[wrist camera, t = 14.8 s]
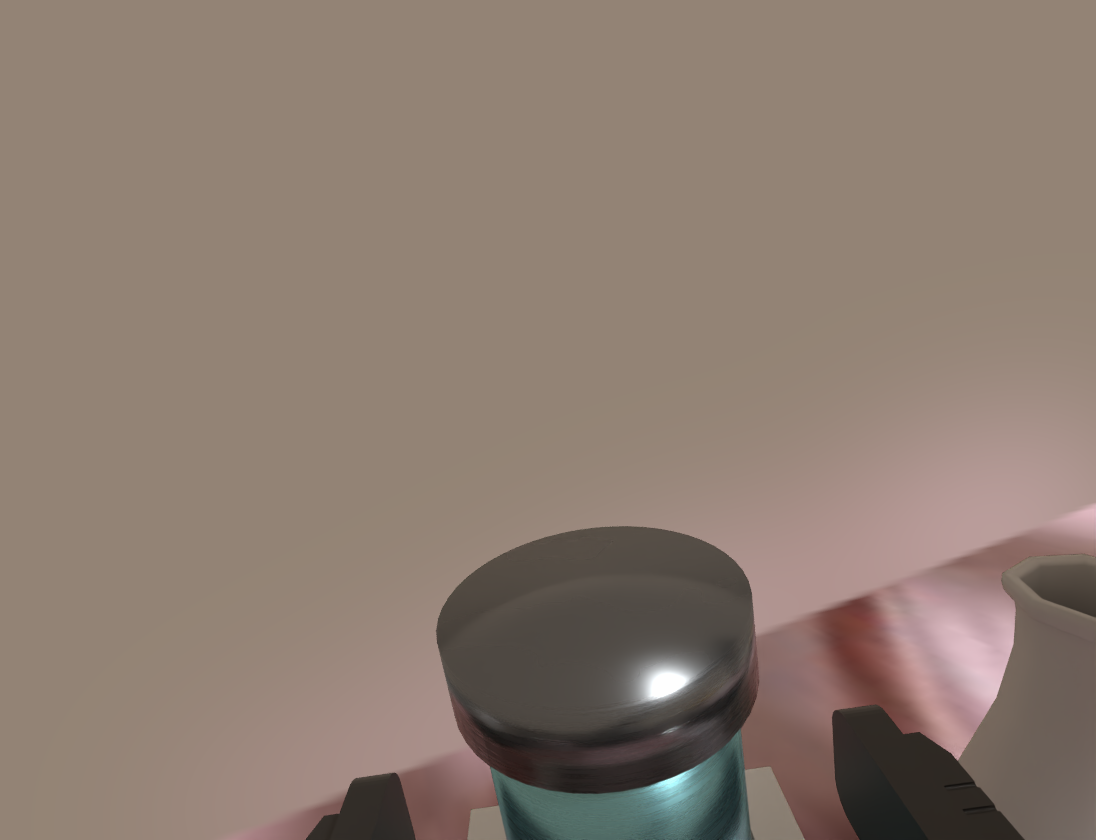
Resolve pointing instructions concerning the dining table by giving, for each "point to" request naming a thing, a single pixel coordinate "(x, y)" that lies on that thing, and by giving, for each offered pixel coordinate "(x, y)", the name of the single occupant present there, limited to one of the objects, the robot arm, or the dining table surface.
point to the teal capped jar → (607, 685)
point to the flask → (1044, 705)
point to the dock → (766, 801)
